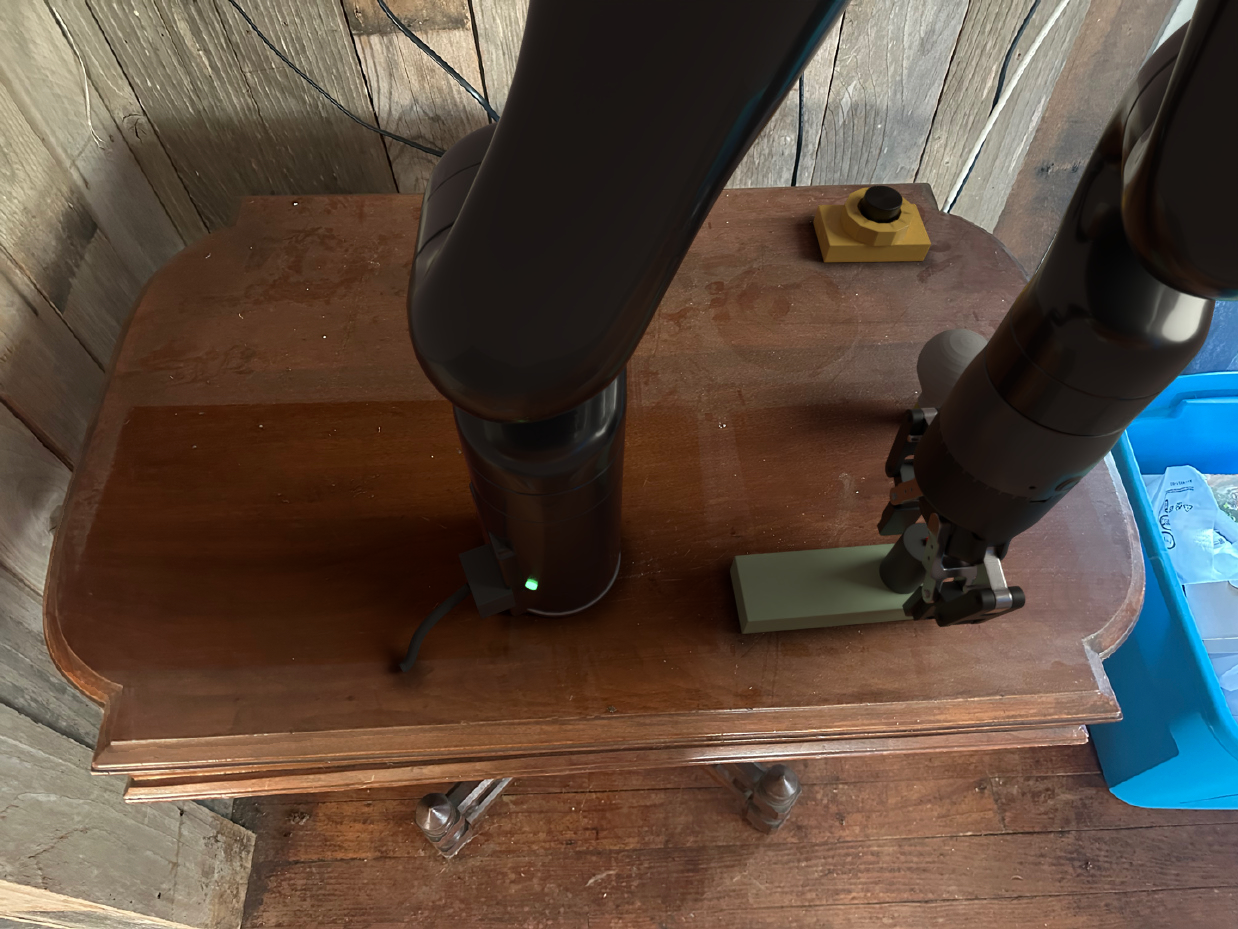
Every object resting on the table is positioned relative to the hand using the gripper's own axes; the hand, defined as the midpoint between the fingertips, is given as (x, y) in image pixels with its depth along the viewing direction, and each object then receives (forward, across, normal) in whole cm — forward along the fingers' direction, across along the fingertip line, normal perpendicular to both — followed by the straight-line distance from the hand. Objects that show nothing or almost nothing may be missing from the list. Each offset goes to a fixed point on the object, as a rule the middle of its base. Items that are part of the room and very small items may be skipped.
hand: (904, 569), depth 53 cm
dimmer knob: (+1, 0, 0) cm, 1 cm away
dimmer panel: (+3, 0, -5) cm, 6 cm away
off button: (0, -37, +9) cm, 38 cm away
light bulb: (+3, -15, +7) cm, 17 cm away
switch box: (+3, -37, +9) cm, 38 cm away
